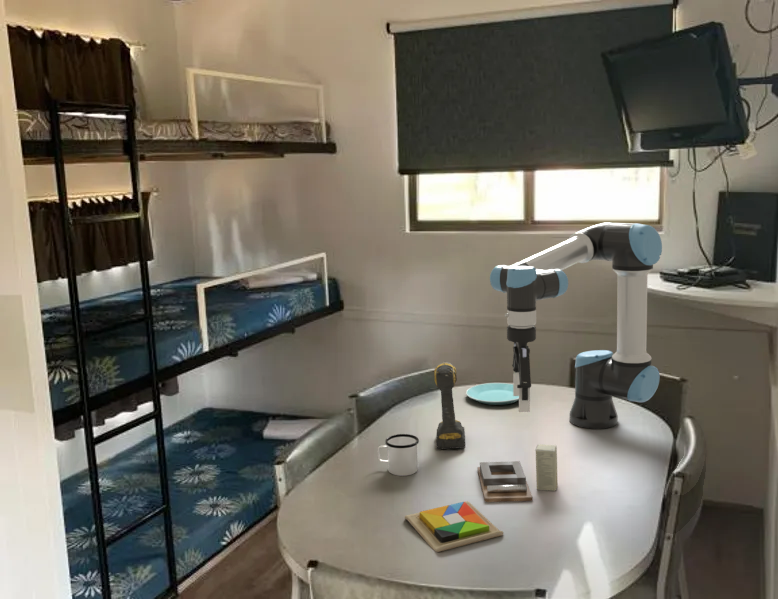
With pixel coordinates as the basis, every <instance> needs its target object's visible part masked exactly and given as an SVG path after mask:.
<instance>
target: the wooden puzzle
mask: <svg viewBox="0 0 778 599" xmlns="http://www.w3.org/2000/svg"><path fill="white" fill-rule="evenodd" d="M404 519H405V520H407V521H408V522H409V524H410V525H411V526H412V527H413V528H414V529H415V531H416V532H417V534H419V535H420V536H421V538H423V540H424V541H425V542H426V544H427V545H429V547H430V548H431V549H432V550H433V551H435V552H436V553H440V552H445V551H447V550H450V549H451V550H452V549H455V548H459V547H463V546H467V545H470V544H471V545H472V544H474V543H478V542H483V541H486V540H489V539H493V538H498V537H502V536H504V531H503V530H499V528H498V527H497V526H496V525H494V524H493V523H492V522H490V520H488V518H487V517H486V516H485V515H483V513H482V512H480V510H478V509H477V508H476V506H474V505H473V504H472V503H471V502H470V501H468V500H467V501H462V502H457V503H451V504H448V505H442V506H439V507H435V508H431V509H430V508H429V509H426V510H423V511H420V512H416V513H411V514H407V515H404Z"/></svg>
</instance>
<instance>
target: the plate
mask: <svg viewBox="0 0 778 599" xmlns="http://www.w3.org/2000/svg"><path fill="white" fill-rule="evenodd" d="M465 395H466V396H467V397H468V398H470V399H471V400H474V401H476V402H479V403H481V404H485V405H491V406H492V405H493V406H494V405H495V406H502V405H509V404H513V403H515V402H517V401H519V396H513V383H506V382H487V383H481V384H477V385H472V386H471V387H469V388H468V389H466V392H465Z"/></svg>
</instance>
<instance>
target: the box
mask: <svg viewBox="0 0 778 599" xmlns="http://www.w3.org/2000/svg"><path fill="white" fill-rule="evenodd" d="M535 471H536V472H535V473H536V474H535V477H536V481H535V482H536V490H541V491H553V492H554V491H555V492H556V490H557V488H558V486H559V485H558V449H557V445H556V444H540V443H538V444H537V445H536V448H535Z"/></svg>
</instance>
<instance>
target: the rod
mask: <svg viewBox="0 0 778 599" xmlns="http://www.w3.org/2000/svg"><path fill="white" fill-rule="evenodd" d="M487 492H488V493H497V492H527V485H489V486H487Z"/></svg>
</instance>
